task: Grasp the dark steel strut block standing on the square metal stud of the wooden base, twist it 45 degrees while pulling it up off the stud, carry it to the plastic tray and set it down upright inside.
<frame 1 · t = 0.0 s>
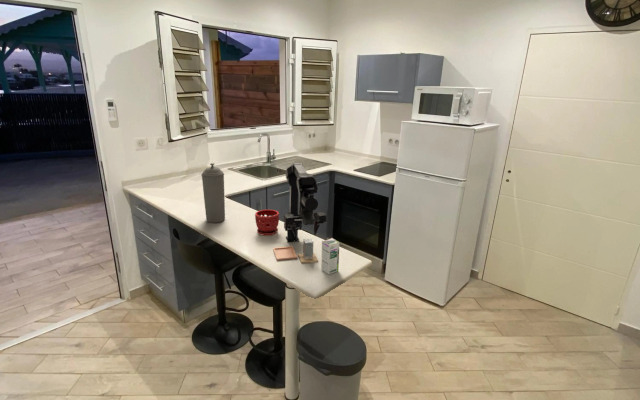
hand: (304, 235, 159), 15 cm above the countertop, fingers open, 9 cm apart
tray: (284, 254, 173), on the countertop
plant pot: (267, 232, 198), on the countertop
strut: (308, 254, 169), point 2 cm above the countertop, touching stud base
syrup box: (329, 270, 160), on the countertop
canister: (215, 220, 213), on the countertop
stud base: (307, 258, 170), on the countertop
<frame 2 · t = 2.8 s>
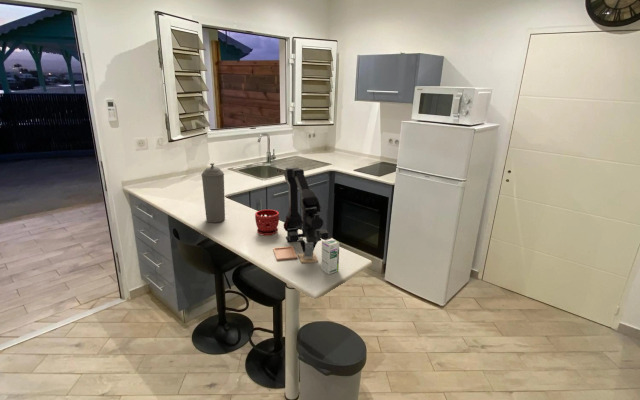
hand: (308, 251, 168), 4 cm above the countertop, fingers closed on strut, 4 cm apart
strut: (308, 254, 169), point 2 cm above the countertop, touching gripper, stud base
everything else where it was.
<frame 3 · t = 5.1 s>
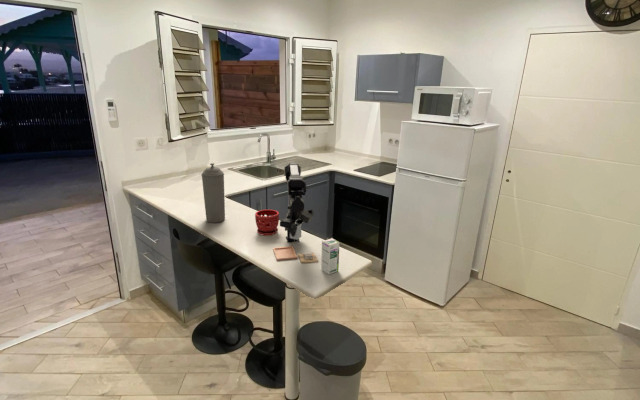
hand: (295, 234, 168), 11 cm above the countertop, fingers closed on strut, 4 cm apart
strut: (295, 237, 169), point 10 cm above the countertop, touching gripper
everything else where it was.
when the fingers open (3 cm above the countertop, at t = 7.4 s): strut drops 1 cm, resting on tray.
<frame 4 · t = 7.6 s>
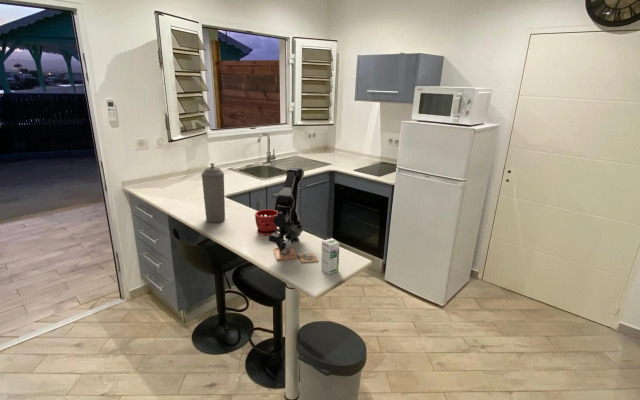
hand: (284, 248, 172), 3 cm above the countertop, fingers open, 6 cm apart
strut: (284, 253, 173), resting on tray
everything else where it was.
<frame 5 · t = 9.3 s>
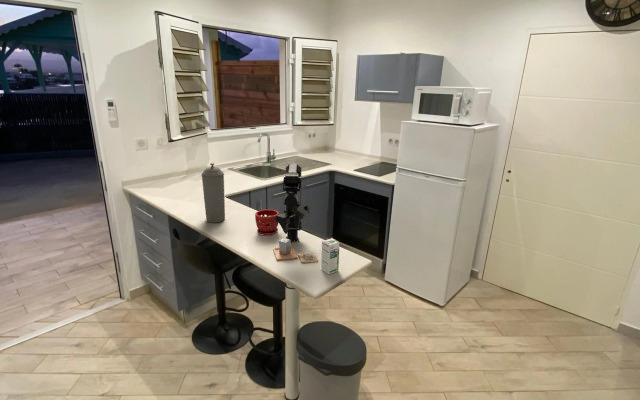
hand: (291, 230, 171), 12 cm above the countertop, fingers open, 9 cm apart
nothing on the countertop moved.
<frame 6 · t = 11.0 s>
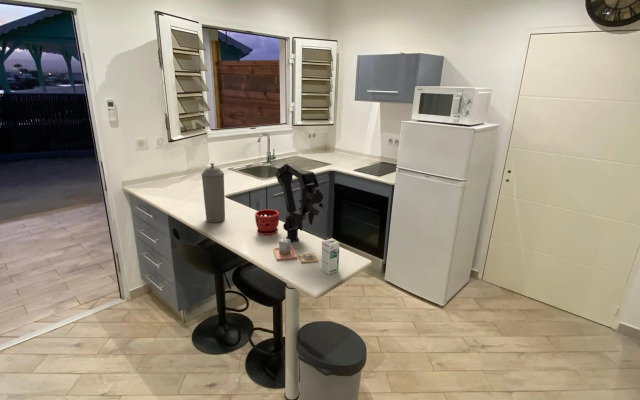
hand: (306, 227, 174), 12 cm above the countertop, fingers open, 9 cm apart
nothing on the countertop moved.
at the end: strut inside the target area on the tray (0.0 cm from its centre), point 0.4 cm above the tray's base; strut tilted 0°; the gripper is holding nothing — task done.
